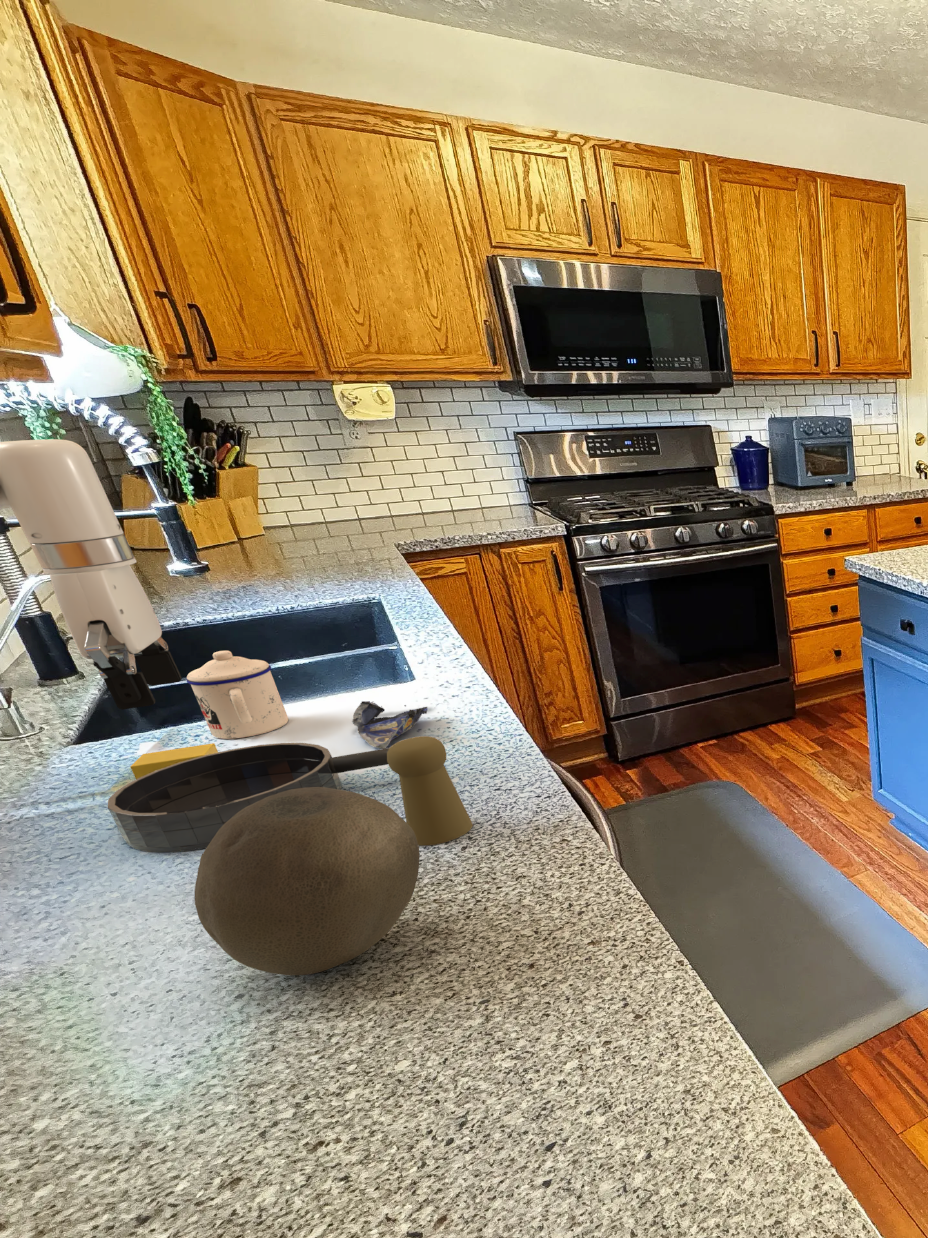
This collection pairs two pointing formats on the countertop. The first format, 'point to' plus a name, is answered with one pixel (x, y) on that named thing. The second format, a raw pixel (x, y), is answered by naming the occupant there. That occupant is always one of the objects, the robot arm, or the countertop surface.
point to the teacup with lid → (237, 696)
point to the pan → (212, 793)
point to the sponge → (169, 758)
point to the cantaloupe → (306, 879)
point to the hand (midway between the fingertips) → (152, 694)
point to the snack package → (383, 723)
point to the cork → (428, 791)
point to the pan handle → (358, 761)
